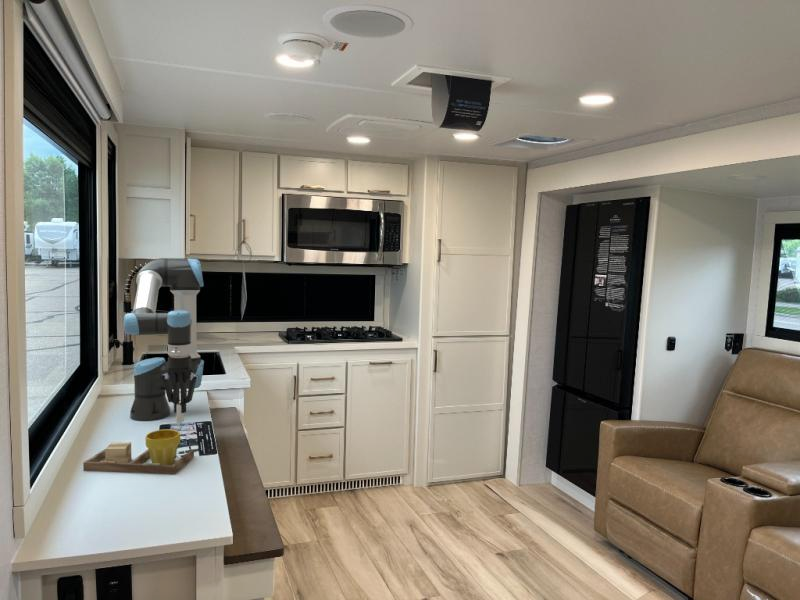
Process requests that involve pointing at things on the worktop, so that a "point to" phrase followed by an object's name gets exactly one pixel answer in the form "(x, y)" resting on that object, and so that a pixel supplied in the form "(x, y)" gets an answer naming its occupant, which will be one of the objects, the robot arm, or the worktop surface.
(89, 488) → the worktop surface
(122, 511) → the worktop surface
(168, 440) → the plant pot
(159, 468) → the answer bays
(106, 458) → the oak block
